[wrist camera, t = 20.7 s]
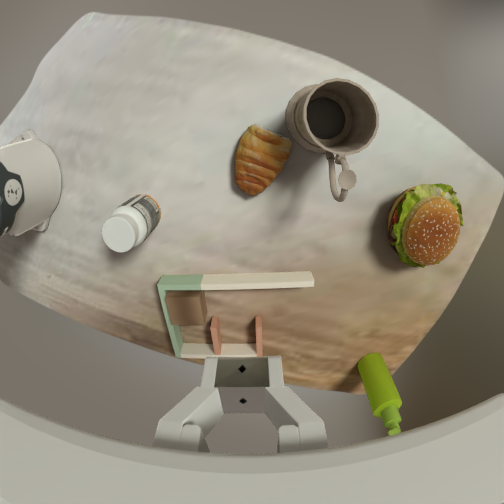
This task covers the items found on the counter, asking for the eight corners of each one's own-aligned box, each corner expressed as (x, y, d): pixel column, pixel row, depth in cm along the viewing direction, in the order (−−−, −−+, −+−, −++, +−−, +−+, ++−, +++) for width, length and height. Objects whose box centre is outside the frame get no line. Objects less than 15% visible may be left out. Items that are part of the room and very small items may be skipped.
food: (456, 189, 38) (485, 203, 31) (429, 261, 44) (452, 284, 37) (396, 163, 37) (424, 172, 30) (369, 246, 43) (389, 270, 35)
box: (179, 346, 52) (176, 357, 49) (162, 275, 45) (157, 284, 42) (304, 344, 51) (306, 355, 48) (310, 271, 44) (314, 280, 42)
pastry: (268, 199, 40) (270, 206, 36) (224, 182, 39) (220, 188, 35) (294, 138, 36) (298, 139, 33) (247, 120, 35) (246, 119, 32)
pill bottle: (130, 229, 41) (102, 256, 32) (126, 193, 39) (94, 213, 30) (164, 228, 41) (141, 257, 32) (160, 192, 39) (135, 212, 30)
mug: (285, 82, 33) (299, 63, 22) (355, 89, 32) (393, 77, 22) (285, 184, 39) (298, 207, 28) (352, 186, 39) (386, 210, 28)
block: (177, 310, 48) (171, 324, 44) (171, 284, 46) (165, 297, 42) (207, 310, 48) (204, 325, 44) (203, 283, 46) (199, 297, 42)
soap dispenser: (376, 345, 52) (409, 423, 34) (385, 362, 54) (415, 433, 36) (351, 359, 53) (377, 439, 35) (362, 374, 56) (386, 448, 37)
